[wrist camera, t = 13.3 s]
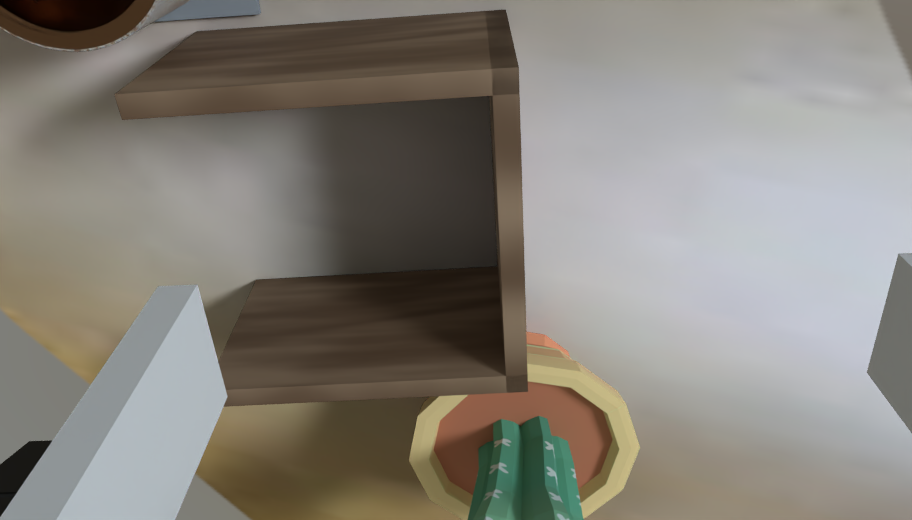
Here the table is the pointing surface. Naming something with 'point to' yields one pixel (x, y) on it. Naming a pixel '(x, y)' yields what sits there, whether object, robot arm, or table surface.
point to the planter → (80, 21)
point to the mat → (213, 9)
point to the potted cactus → (527, 444)
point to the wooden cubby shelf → (376, 294)
